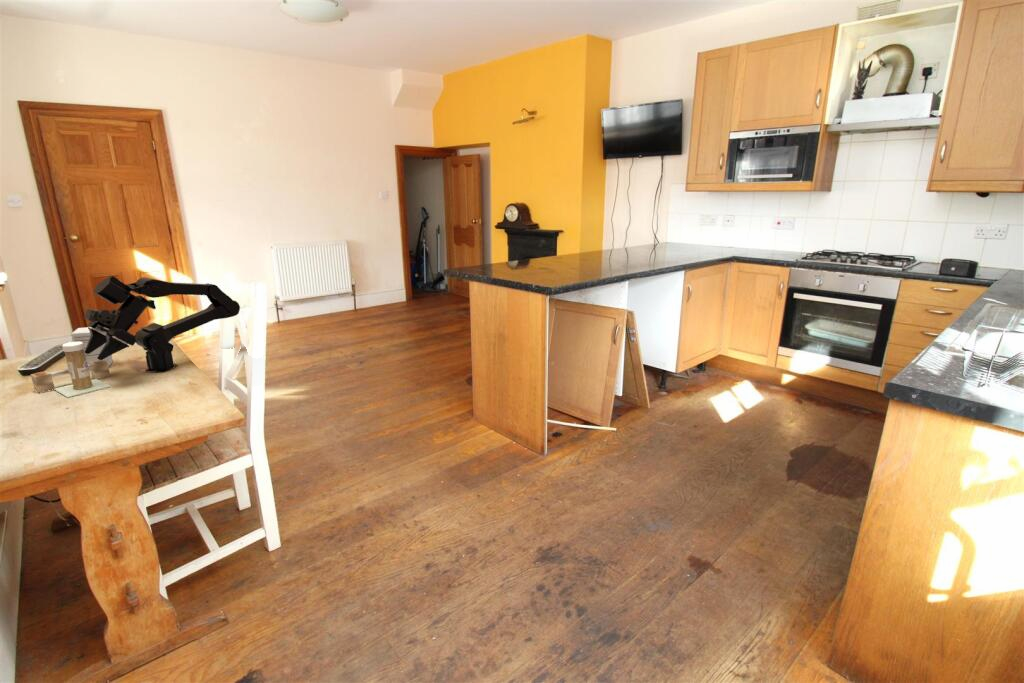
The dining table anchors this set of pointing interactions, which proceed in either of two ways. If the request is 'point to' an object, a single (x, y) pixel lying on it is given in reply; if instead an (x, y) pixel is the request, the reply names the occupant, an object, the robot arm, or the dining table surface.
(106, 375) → the handrail
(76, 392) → the pad
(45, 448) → the dining table surface
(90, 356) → the supplement box
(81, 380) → the sprinkles bottle
